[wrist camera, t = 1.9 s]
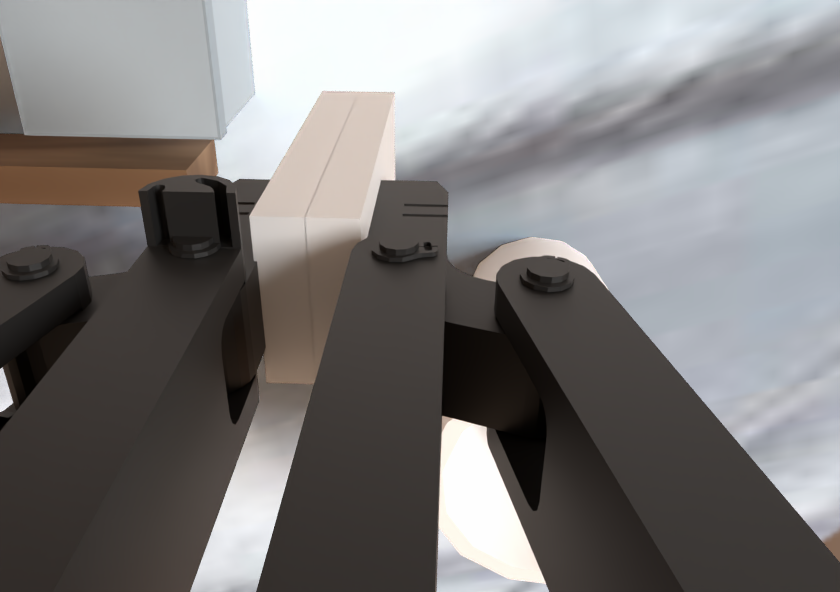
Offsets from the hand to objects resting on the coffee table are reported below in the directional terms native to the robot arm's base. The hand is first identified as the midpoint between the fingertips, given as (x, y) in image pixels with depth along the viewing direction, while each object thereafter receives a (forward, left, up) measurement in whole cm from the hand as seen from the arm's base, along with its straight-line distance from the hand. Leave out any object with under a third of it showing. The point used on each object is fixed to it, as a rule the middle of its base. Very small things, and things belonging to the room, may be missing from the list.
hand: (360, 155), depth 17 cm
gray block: (0, -10, -17) cm, 20 cm away
